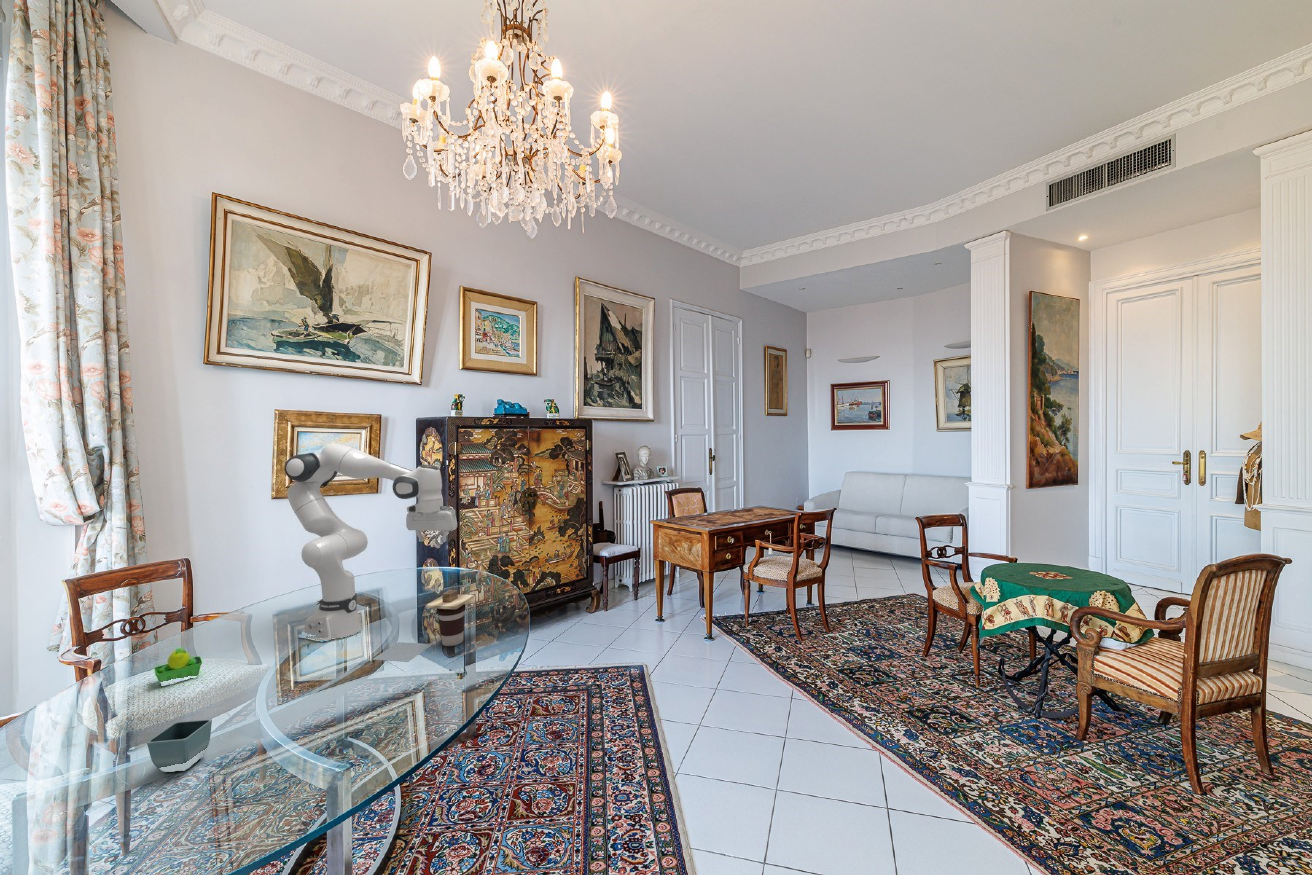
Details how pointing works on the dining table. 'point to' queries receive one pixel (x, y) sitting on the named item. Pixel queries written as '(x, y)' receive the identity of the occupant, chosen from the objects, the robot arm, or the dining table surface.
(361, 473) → the robot arm
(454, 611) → the coffee cup
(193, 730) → the flower pot
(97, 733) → the dining table surface
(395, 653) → the mat
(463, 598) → the lid
